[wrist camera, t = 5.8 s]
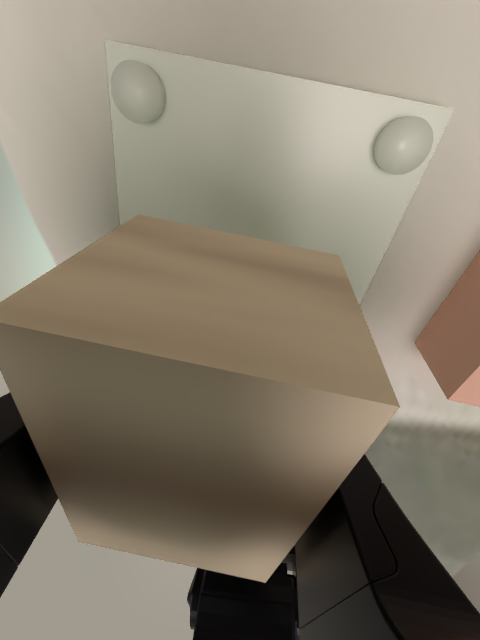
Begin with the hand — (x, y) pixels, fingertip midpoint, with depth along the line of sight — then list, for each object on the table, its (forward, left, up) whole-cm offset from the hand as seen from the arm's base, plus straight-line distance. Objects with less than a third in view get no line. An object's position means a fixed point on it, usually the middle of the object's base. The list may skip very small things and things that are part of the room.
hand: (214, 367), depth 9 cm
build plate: (0, 0, -10) cm, 10 cm away
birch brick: (0, 0, -1) cm, 1 cm away
